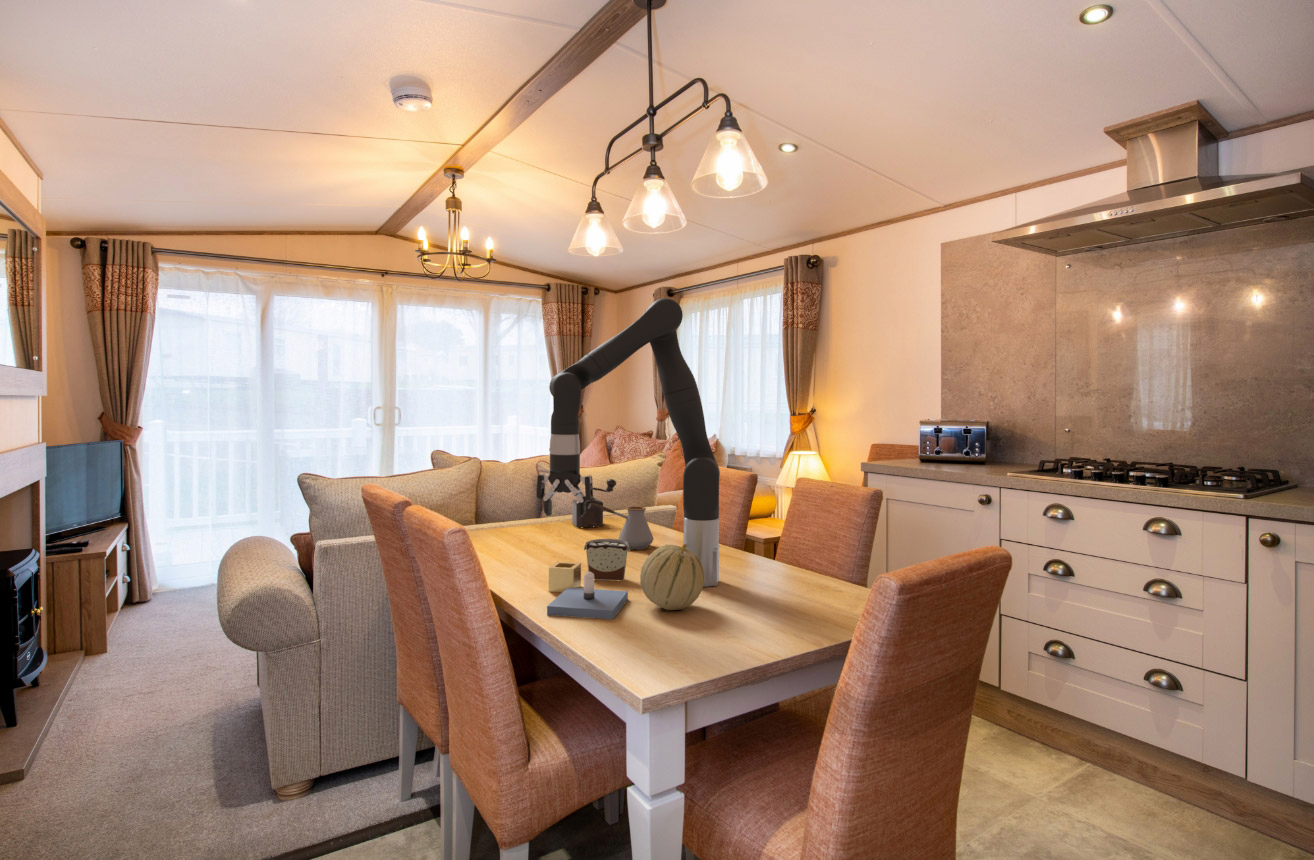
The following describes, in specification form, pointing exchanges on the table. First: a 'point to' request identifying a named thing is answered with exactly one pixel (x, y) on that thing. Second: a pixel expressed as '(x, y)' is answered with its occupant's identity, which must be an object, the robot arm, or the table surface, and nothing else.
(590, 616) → the post stand
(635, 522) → the coffee pot
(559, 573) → the brass collar
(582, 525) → the manual coffee grinder
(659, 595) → the cantaloupe
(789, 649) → the table surface
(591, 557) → the food container
